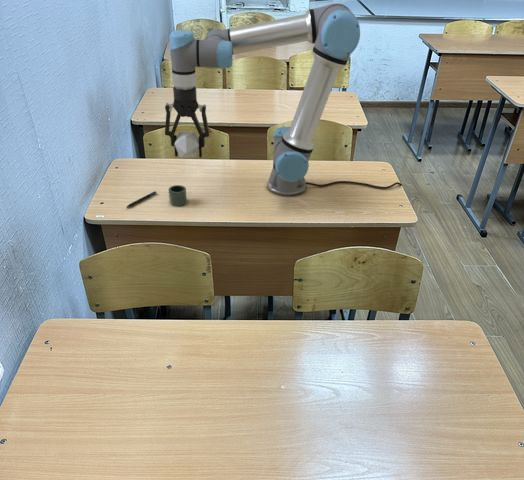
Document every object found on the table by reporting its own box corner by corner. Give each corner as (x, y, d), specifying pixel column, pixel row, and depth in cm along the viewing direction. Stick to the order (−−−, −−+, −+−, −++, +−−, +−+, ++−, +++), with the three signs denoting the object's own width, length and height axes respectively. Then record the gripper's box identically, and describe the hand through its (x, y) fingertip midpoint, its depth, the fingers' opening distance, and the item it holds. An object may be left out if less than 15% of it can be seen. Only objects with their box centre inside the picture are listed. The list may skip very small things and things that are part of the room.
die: (189, 165, 177) (204, 139, 174) (167, 150, 175) (182, 123, 172) (192, 164, 185) (206, 139, 182) (170, 149, 183) (185, 124, 180)
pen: (125, 208, 188) (125, 205, 187) (154, 193, 197) (154, 190, 197) (127, 209, 187) (127, 206, 187) (156, 193, 197) (156, 191, 196)
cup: (187, 198, 195) (186, 185, 191) (186, 206, 190) (185, 192, 186) (171, 198, 195) (169, 185, 191) (169, 206, 190) (167, 192, 186)
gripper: (216, 84, 169) (218, 152, 184) (154, 81, 168) (160, 150, 183) (215, 91, 163) (217, 160, 179) (151, 88, 163) (158, 158, 178)
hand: (188, 155), depth 181 cm, fingers closed on die, 8 cm apart
